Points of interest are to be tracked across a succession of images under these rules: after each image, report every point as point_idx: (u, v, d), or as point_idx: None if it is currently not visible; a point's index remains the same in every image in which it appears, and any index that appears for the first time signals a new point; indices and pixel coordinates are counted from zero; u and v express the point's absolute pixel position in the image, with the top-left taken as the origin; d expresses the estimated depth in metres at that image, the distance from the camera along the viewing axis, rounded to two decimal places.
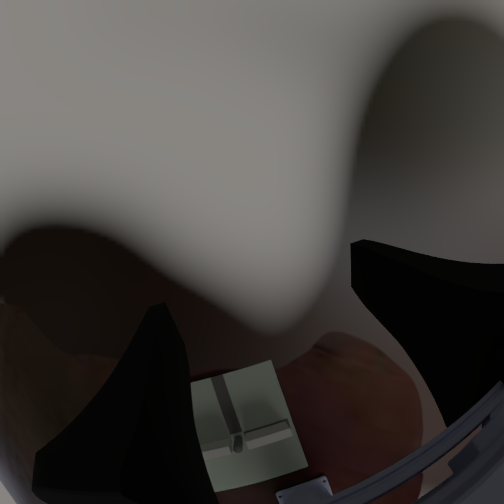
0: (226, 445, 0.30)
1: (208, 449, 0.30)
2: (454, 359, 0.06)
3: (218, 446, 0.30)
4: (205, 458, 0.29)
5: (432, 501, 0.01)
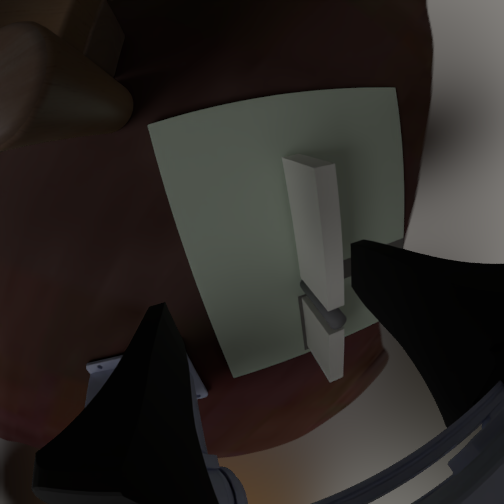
0: None
1: None
2: (454, 359, 0.06)
3: None
4: (327, 265, 0.16)
5: (432, 501, 0.01)
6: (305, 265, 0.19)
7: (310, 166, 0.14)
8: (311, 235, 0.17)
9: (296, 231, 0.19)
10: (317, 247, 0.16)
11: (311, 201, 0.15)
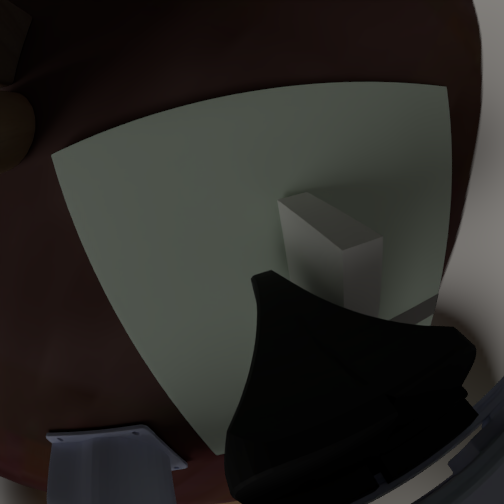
0: None
1: None
2: None
3: None
4: None
5: (432, 501, 0.01)
6: None
7: (333, 241, 0.07)
8: None
9: None
10: None
11: (329, 299, 0.08)
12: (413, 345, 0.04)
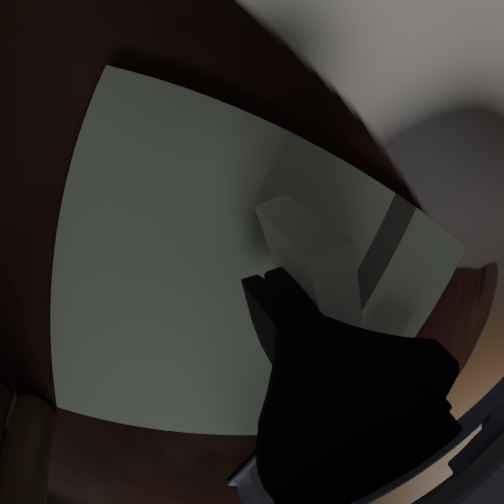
0: None
1: None
2: None
3: None
4: None
5: (432, 501, 0.01)
6: None
7: (300, 251, 0.07)
8: None
9: None
10: None
11: None
12: (390, 357, 0.04)
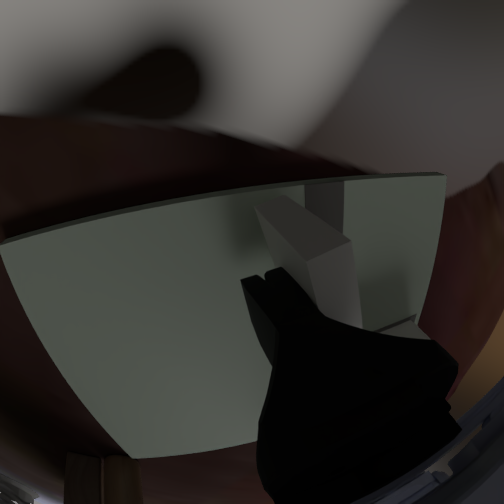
0: None
1: None
2: None
3: None
4: None
5: (432, 501, 0.01)
6: None
7: (299, 251, 0.07)
8: None
9: None
10: None
11: None
12: (389, 358, 0.04)
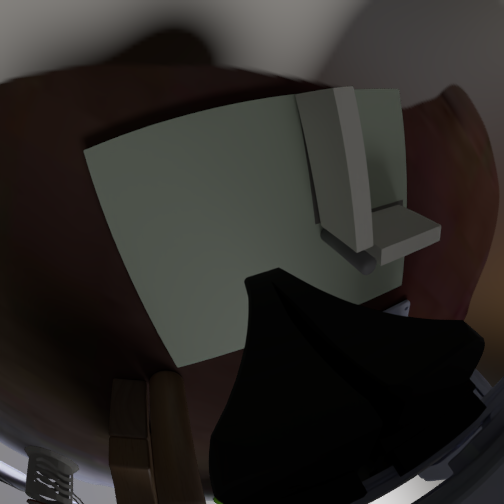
0: None
1: None
2: None
3: None
4: (353, 196, 0.14)
5: (432, 501, 0.01)
6: (327, 207, 0.17)
7: None
8: (333, 167, 0.15)
9: (315, 171, 0.17)
10: (341, 177, 0.14)
11: (332, 126, 0.13)
12: (424, 337, 0.04)
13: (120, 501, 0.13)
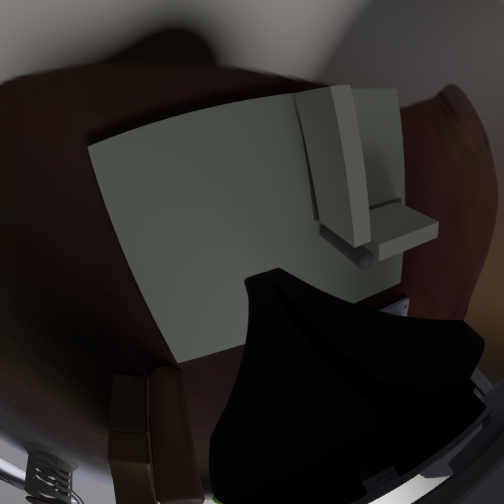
0: None
1: None
2: None
3: None
4: (351, 191, 0.14)
5: (432, 501, 0.01)
6: (325, 203, 0.18)
7: (326, 87, 0.12)
8: (331, 163, 0.15)
9: (314, 168, 0.17)
10: (339, 173, 0.15)
11: (329, 124, 0.13)
12: (424, 337, 0.04)
13: (119, 496, 0.14)
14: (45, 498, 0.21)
